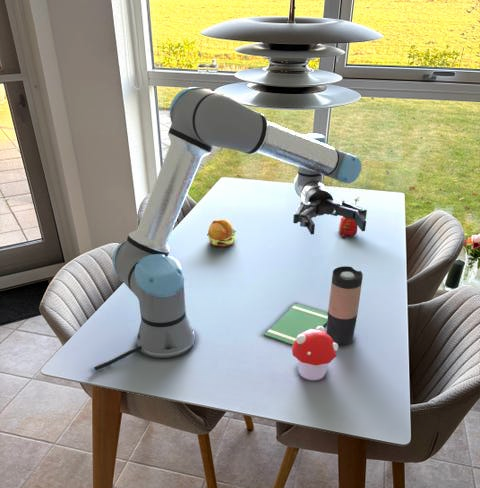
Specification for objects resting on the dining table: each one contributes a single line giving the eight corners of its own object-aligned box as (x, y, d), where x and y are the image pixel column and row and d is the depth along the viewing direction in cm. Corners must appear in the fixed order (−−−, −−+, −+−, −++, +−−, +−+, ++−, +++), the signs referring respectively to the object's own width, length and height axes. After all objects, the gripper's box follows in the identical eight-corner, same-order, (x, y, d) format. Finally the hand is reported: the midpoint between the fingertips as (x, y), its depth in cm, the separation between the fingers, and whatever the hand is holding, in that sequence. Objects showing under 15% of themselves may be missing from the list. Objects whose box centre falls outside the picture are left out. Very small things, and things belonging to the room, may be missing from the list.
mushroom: (331, 359, 130) (336, 320, 123) (336, 387, 121) (342, 347, 114) (290, 358, 130) (292, 319, 124) (292, 386, 121) (294, 346, 115)
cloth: (303, 349, 134) (304, 348, 134) (264, 335, 139) (264, 334, 139) (332, 315, 147) (332, 314, 147) (295, 304, 152) (295, 303, 152)
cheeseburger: (239, 237, 192) (238, 215, 185) (231, 255, 186) (229, 233, 178) (214, 234, 195) (211, 212, 187) (205, 251, 188) (202, 229, 181)
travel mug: (326, 346, 135) (334, 280, 124) (323, 329, 141) (330, 265, 130) (355, 346, 134) (365, 280, 123) (351, 330, 141) (360, 266, 130)
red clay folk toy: (336, 231, 197) (340, 193, 189) (354, 230, 198) (358, 193, 189) (340, 239, 191) (344, 200, 183) (358, 238, 191) (363, 200, 183)
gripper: (356, 209, 151) (383, 238, 134) (274, 213, 149) (290, 244, 131) (360, 184, 147) (387, 211, 130) (275, 188, 144) (292, 216, 127)
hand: (338, 228), depth 130 cm, fingers open, 13 cm apart
